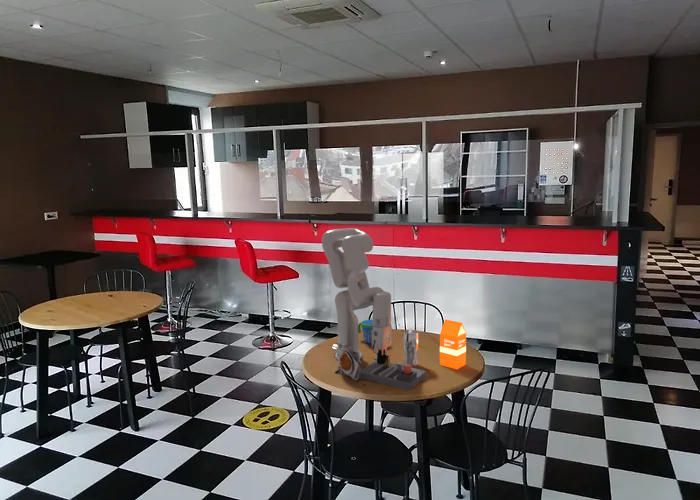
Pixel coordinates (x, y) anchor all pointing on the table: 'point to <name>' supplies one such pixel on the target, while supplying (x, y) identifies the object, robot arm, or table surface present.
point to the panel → (392, 375)
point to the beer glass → (411, 346)
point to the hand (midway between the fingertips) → (381, 362)
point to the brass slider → (387, 361)
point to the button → (407, 369)
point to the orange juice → (453, 344)
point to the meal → (348, 362)
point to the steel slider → (399, 366)
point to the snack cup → (366, 330)
